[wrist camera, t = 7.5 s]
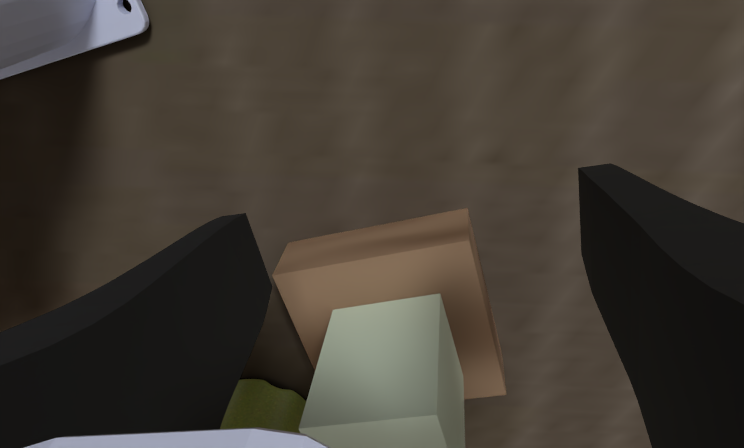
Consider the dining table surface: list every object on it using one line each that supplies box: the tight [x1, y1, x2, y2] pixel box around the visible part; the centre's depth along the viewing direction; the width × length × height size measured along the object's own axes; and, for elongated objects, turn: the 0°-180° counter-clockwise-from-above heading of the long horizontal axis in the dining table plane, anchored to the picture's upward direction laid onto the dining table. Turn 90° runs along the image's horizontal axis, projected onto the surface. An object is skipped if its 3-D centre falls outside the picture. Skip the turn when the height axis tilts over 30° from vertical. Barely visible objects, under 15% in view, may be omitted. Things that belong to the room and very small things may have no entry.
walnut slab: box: [272, 208, 506, 399], centre depth 25 cm, size 8×8×3 cm
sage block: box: [299, 293, 465, 448], centre depth 21 cm, size 4×4×6 cm
